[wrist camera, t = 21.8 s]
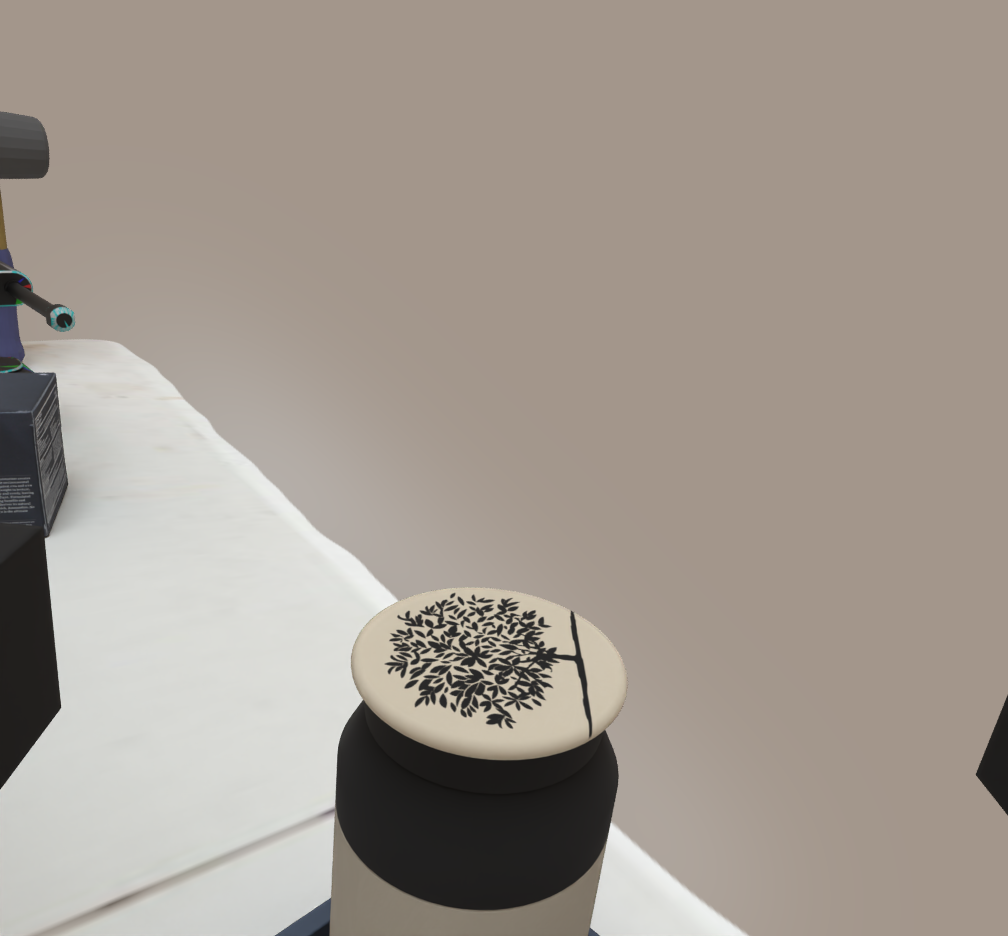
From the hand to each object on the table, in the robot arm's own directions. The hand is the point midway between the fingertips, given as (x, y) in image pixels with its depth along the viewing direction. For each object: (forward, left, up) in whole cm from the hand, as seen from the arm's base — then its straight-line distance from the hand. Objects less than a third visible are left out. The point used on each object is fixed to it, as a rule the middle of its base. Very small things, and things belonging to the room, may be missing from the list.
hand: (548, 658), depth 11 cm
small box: (-64, +12, -26) cm, 70 cm away
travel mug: (-7, +7, -25) cm, 26 cm away
